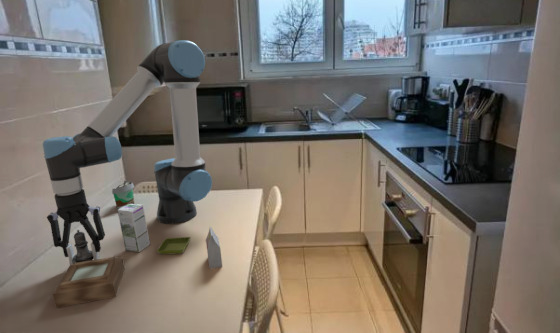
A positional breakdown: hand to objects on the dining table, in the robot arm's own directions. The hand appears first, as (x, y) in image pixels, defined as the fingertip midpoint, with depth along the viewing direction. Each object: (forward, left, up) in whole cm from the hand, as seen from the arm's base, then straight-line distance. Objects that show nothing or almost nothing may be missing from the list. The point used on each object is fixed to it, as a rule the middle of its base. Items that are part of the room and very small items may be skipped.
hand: (85, 263), depth 108 cm
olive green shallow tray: (-26, -2, -1) cm, 26 cm away
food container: (-5, -50, -1) cm, 50 cm away
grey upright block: (-38, +11, -1) cm, 40 cm away
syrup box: (-14, -7, -1) cm, 16 cm away
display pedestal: (-5, +13, -1) cm, 14 cm away
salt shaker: (0, 0, -1) cm, 1 cm away
